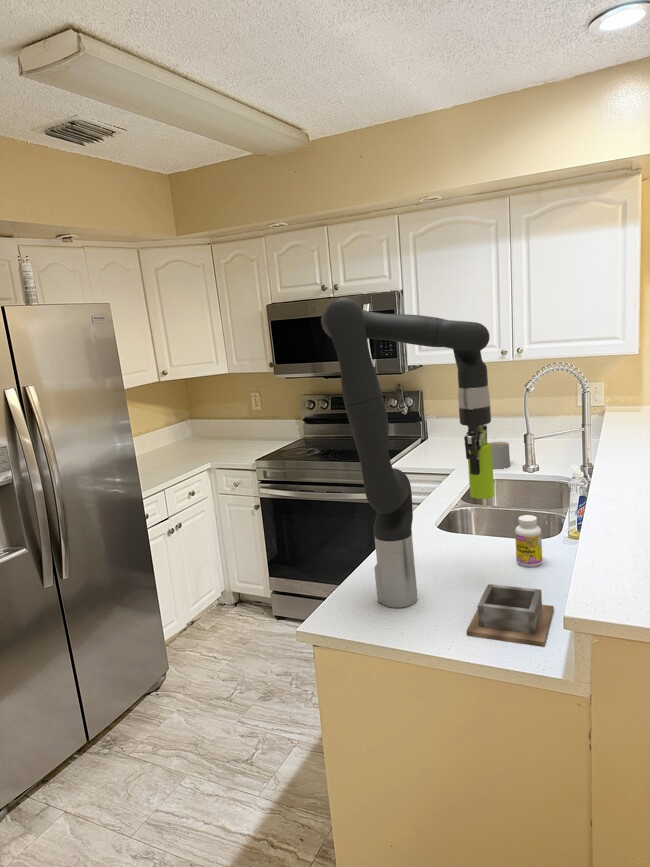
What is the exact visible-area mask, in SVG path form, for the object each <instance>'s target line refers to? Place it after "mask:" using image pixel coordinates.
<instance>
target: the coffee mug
mask: <svg viewBox="0 0 650 867" xmlns="http://www.w3.org/2000/svg"><path fill="white" fill-rule="evenodd" d="M489 443H490V444H491V446H492V463H493V470H494V469H500V470H505V469H504V468H506V469H509V468H511V461H510V460H511V459H510V457H511V456H510V443H509V442H506V441H490V442H489ZM508 467H509V468H508Z"/></svg>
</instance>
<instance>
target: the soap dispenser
mask: <svg viewBox="0 0 650 867" xmlns="http://www.w3.org/2000/svg"><path fill="white" fill-rule="evenodd" d="M480 432H483V439H482V447H481V450H480V451H479V457H480V458H479V463H480V473H479V474H478V475H472V474H471V473H470V460H469V459H467V462H468V463H467V464H468V465H467V466H468V481H469V495H470V496H469V497H470V498H472V499H476V500H487V499H491V498H493V497H495V487H494V486H495V485H494V483H495V482H494V469H493V463H492V446H491V444H490V442H487V443H486V433H485V430H483V429H482V425H480ZM472 454H474V451H473V450H472Z"/></svg>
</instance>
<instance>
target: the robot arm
mask: <svg viewBox="0 0 650 867" xmlns="http://www.w3.org/2000/svg"><path fill="white" fill-rule="evenodd" d="M320 323H321V327H322V330H323V331H324V333H325V334H326V335H327V337H329V338H331V342H332V344H333V346H334V349H335V351H336V355H337V359H338V364H339V369H340V383H341V392H342V397H343V398H342V399H343V403H344V407H345V411H346V415H347V419H348V422H349V425H350V428H351V433H352V437H353V440H354V444H355V448H356V450H357V454H358V458H359V462H360V468H361V473H362V480H363V481H362V482H363V486H364V488H363V489H364V493H365V494H364V495H365V497H366V501H367V503H368V504H369V505H370V506H371V508H372V509H373V510H374V511H375V512H376V515H375V521H374V524H373V537H374V544H375V554H376V555H375V556H376V564H375V566H374V577H375V578H374V579H375V589H376V596H377V597H376V598H377V603H379V604H383V605H384V606H385V607H389V608H397V609H398V608H406V607H411V606H412V605H414V604H415V603H416V602H417V601H418V589H417V587H418V586H417V577H416V575H417V574H416V567H415V566H416V565H415V554H414V542H413V541H414V540H413V531H412V530H413V528H412V526H413V521H414V520H413V519H414V514H413V510H414V509H413V495H412V494H413V493H412V486H411V482H410V479H409V477H408V476H407V475H406V473H405V472H404V471H402V470H401V469H398V468H394V467H393V465H392V462H391V458H390V453H389V420H388V419H389V418H388V411H387V407H386V403H385V400H384V395H383V392H382V389H381V385H380V381H379V379H378V376H377V373H376V370H375V366H374V363H373V360H372V358H371V354H370V350H369V344H368V340H370V339H372V340H383V341H389V342H390V341H391V342H394V343H395V342H396V343H402V344H406V345H407V344H408V345H413V346H414V345H415V346H422V347H428V348H429V347H430V348H445V349H446V348H447V349H452V350H453V356H454V360H455V363H456V367H457V381H458V383H457V384H458V394H457V395H458V396H457V399H458V414H459V415H458V416H459V424H460V426H461V425H462V426H466V427H467V431H466V434H465V435H464V437H463V440H464V448H465V458H466V460H468V459H469V460H470V473H471V474H472V475H478V474H479V473H480V463H479V458H480V457H479V451H480V450H481V447H482V439H483V432H480V425H482V429H483V430H485V433H486V443H488V424H489V425H490V423H491V422H492V412H491V397H490V390H489V381H488V380H489V379H488V377H489V376H488V368H487V365H486V363H485V362H484V361H483V359H482V353H481V352H482V350H484V349H485V348H487V346H488V344H489V342H490V339H491V338H490V336H491V335H490V332H489V330H488V329H487V327H486V326H485V325H483V324H482V323H480V322H476V321H468V320H467V321H465V320H451V319H445V318H440V317H435V316H428V315H421V314H408V313H407V314H406V313H405V314H403V313H402V314H400V313H399V314H398V313H382V312H381V313H380V312H374V311H369V310H365V309H362V308H361V307H360V305H359V304H358V303H357V302H356V301H355V300H353V299H352V298H348V297H339V298H336V299H333V301H332V302H330V303H329V304H328V305H327V306H326V307H325V308H324V310H323V312H322V313H321V317H320ZM472 450H473V451H474V454H472Z"/></svg>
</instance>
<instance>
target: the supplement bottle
mask: <svg viewBox="0 0 650 867" xmlns="http://www.w3.org/2000/svg"><path fill="white" fill-rule="evenodd" d="M517 520H518V524H519V525H517V526H516V527H515V530H514V536H515V557H516V562H517V564H518V565H519V566H523V567H527V568H534V567H538V566H540V565H542V562H543V546H542V544H543V543H542V529H541V527H540V526H539V525H537V523H538V518H537V517H536V516H534V515H531V514H530V515H529V514H525V515H520V516H519V517H518V519H517Z"/></svg>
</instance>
